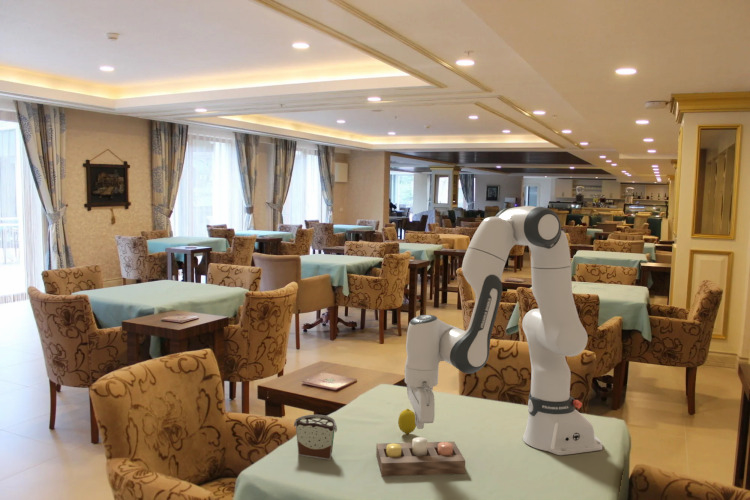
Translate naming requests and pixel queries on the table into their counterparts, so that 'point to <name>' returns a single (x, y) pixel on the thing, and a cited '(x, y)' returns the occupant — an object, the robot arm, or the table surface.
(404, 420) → the lemon
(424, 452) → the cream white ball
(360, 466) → the table surface
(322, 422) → the food container
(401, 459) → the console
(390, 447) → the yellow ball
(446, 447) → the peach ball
